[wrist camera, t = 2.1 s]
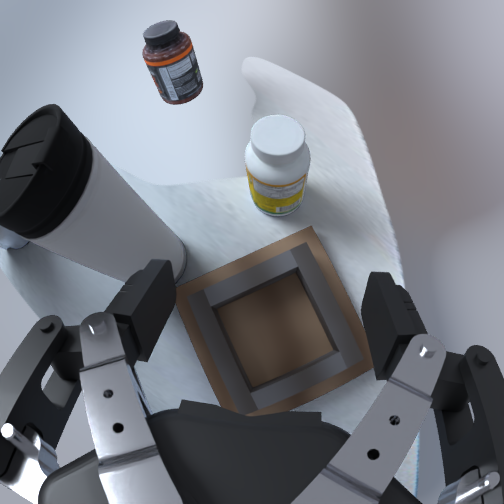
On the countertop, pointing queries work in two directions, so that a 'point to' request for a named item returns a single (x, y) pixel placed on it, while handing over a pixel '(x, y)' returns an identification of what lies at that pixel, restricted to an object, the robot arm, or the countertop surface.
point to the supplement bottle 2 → (277, 164)
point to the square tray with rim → (274, 327)
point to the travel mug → (78, 201)
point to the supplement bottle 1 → (172, 62)
